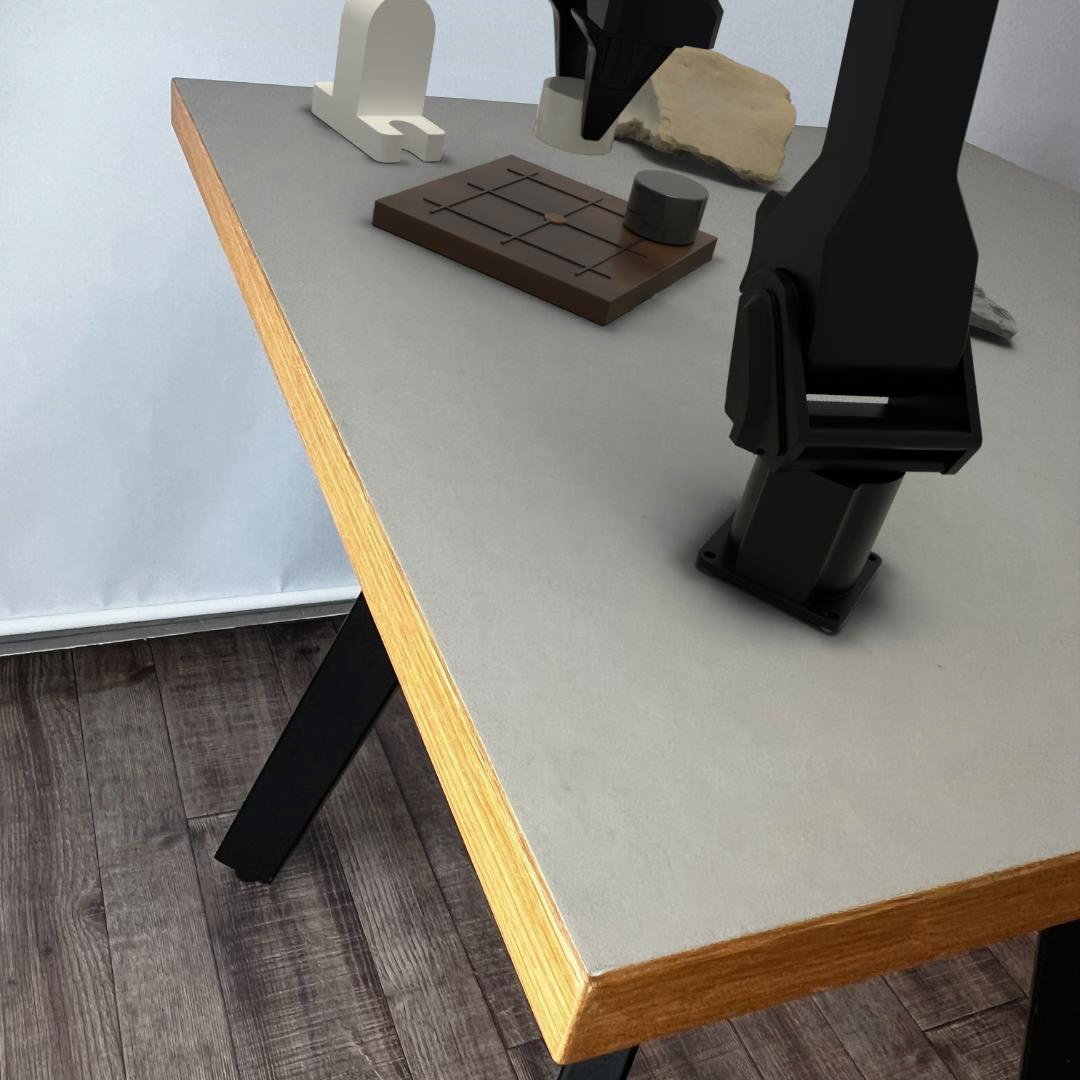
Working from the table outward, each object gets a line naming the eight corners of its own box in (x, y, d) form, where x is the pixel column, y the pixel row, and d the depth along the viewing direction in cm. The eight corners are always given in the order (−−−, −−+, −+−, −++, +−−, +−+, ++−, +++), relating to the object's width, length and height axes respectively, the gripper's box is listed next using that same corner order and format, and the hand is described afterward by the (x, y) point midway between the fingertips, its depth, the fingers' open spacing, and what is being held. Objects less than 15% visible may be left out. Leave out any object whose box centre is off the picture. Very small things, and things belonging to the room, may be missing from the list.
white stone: (588, 161, 71) (601, 109, 70) (518, 133, 73) (528, 81, 71) (624, 147, 75) (637, 98, 73) (556, 121, 76) (567, 72, 75)
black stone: (677, 251, 77) (691, 205, 75) (610, 224, 78) (622, 178, 76) (707, 234, 80) (720, 190, 79) (642, 208, 82) (654, 164, 80)
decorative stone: (604, 121, 102) (629, 18, 98) (774, 166, 102) (807, 65, 98) (592, 147, 96) (618, 38, 91) (773, 197, 95) (809, 89, 91)
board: (603, 326, 69) (610, 299, 68) (371, 224, 74) (375, 198, 73) (711, 258, 81) (719, 235, 80) (506, 175, 86) (511, 152, 85)
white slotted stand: (371, 109, 92) (391, -34, 86) (444, 161, 86) (470, 10, 80) (308, 109, 89) (324, -40, 83) (378, 162, 83) (401, 6, 77)
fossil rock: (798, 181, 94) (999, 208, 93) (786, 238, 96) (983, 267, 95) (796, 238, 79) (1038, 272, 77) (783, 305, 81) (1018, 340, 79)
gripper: (458, -228, 69) (415, 57, 78) (546, -177, 55) (481, 166, 64) (641, -186, 73) (580, 82, 82) (768, -128, 59) (678, 190, 67)
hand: (577, 124), depth 73 cm, fingers closed on white stone, 5 cm apart
